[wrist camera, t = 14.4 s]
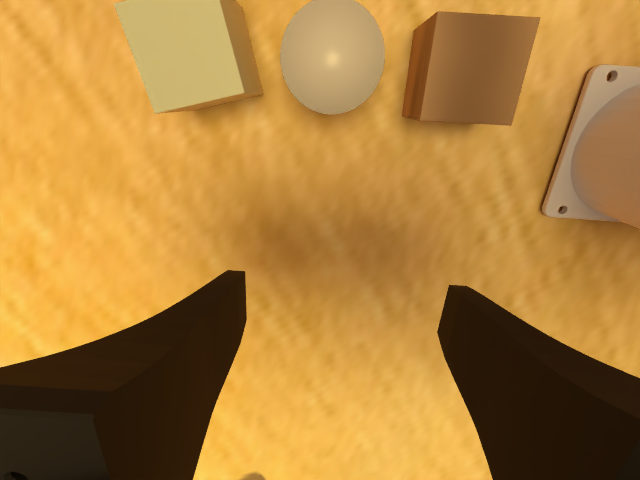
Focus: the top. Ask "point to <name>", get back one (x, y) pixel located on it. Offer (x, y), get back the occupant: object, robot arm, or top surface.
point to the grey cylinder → (332, 55)
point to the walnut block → (468, 67)
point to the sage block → (190, 52)
